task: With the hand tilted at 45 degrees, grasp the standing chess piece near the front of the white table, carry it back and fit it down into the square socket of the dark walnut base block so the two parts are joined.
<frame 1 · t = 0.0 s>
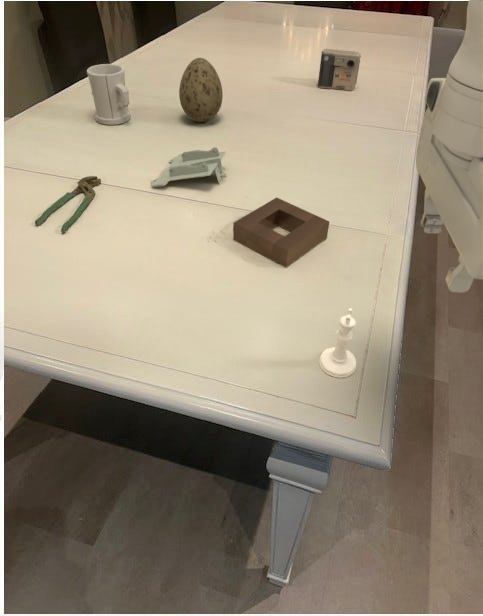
hand: (441, 256, 48), 21 cm above the table, tool pointing down, fingers open, 8 cm apart
chess piece: (337, 364, 65), on the table
camera: (336, 88, 146), on the table
metal bracket: (193, 177, 103), on the table
cup: (116, 120, 124), on the table
socket block: (280, 238, 86), on the table
pliers: (76, 205, 94), on the table
decorative egg: (201, 121, 125), on the table
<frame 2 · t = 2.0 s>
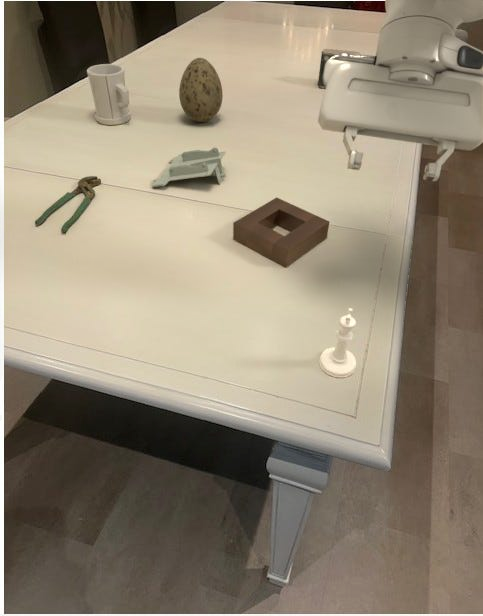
hand: (392, 174, 59), 22 cm above the table, tool tilted 40°, fingers open, 8 cm apart
nothing on the table moved.
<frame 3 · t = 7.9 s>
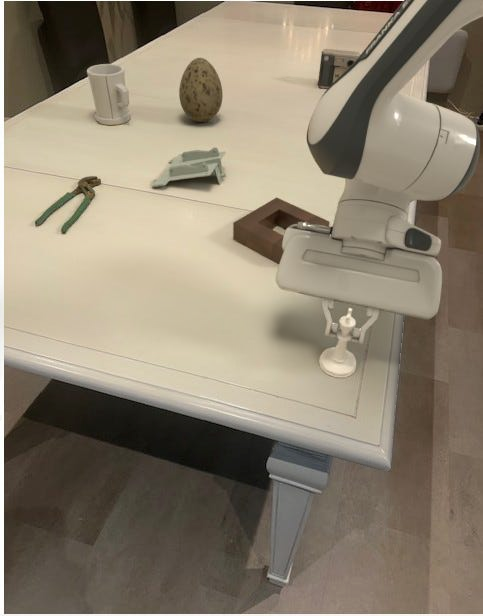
hand: (343, 339, 61), 5 cm above the table, tool tilted 45°, fingers closed on chess piece
chess piece: (337, 364, 65), on the table, touching gripper
everything else where it was.
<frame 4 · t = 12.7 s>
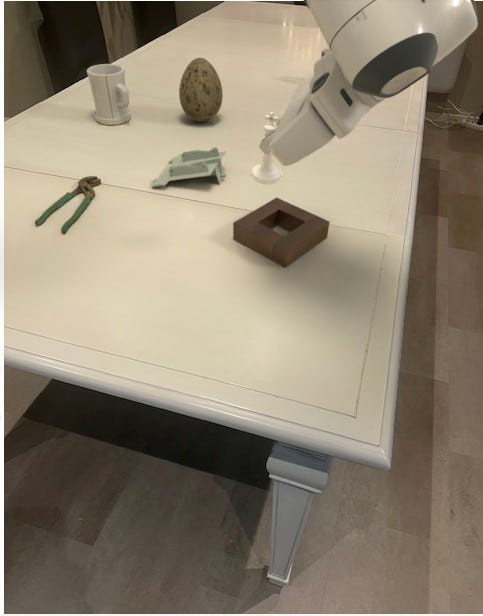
hand: (265, 142, 71), 19 cm above the table, tool tilted 45°, fingers closed on chess piece
chess piece: (266, 176, 75), point 14 cm above the table, touching gripper
everything else where it was.
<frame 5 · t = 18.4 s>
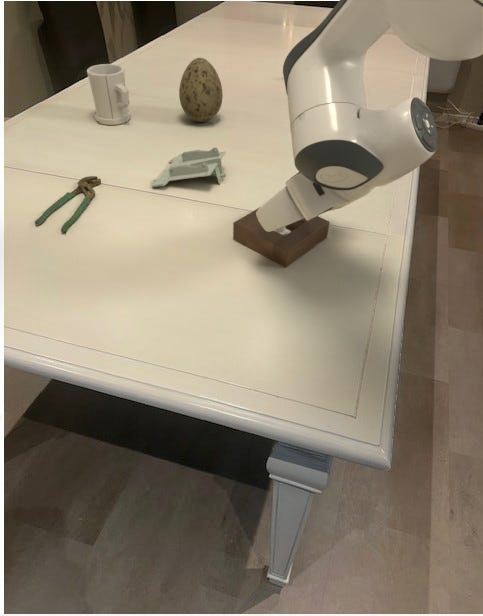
hand: (279, 210, 83), 6 cm above the table, tool tilted 45°, fingers open, 8 cm apart
chess piece: (279, 239, 87), resting in socket block
everything else where it was.
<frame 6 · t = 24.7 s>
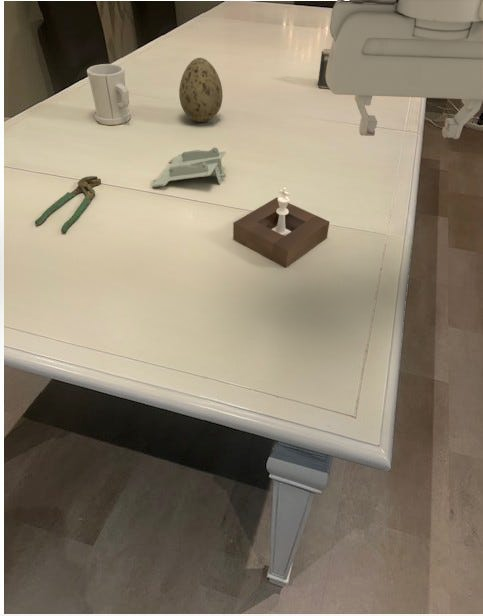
hand: (407, 135, 55), 27 cm above the table, tool pointing down, fingers open, 8 cm apart
nothing on the table moved.
at the end: chess piece 0.0 cm off-centre in the socket block, point 0.0 cm above the socket block's base; chess piece tilted 0°; the gripper is holding nothing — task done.
